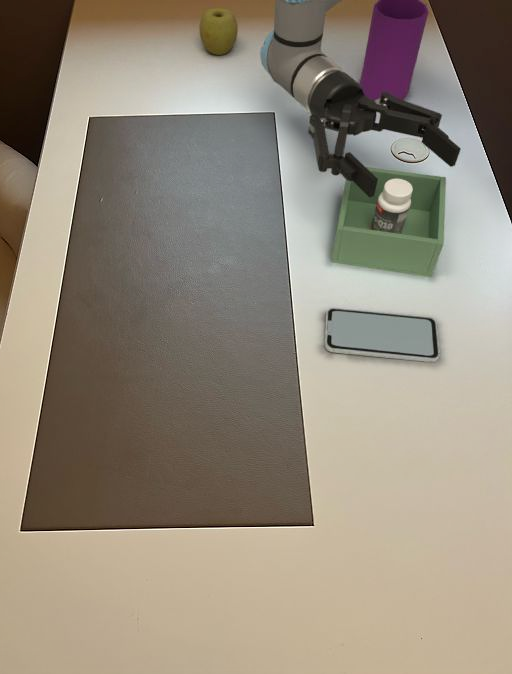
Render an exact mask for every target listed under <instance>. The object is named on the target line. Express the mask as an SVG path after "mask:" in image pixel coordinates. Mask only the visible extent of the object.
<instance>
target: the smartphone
mask: <svg viewBox="0 0 512 674" xmlns="http://www.w3.org/2000/svg"><path fill="white" fill-rule="evenodd" d="M324 330H325V332H324V348H325V349H326V350H327V351H328V352H330V353H337V354H344V355H345V354H346V355H355V356H366V357H376V358H387V359H397V360H405V361H406V360H407V361H416V362H426V363H435V362H437V361H438V359H439V358H440V355H441V351H440V342H439V341H440V340H439V332H438V323H437V320H436V319H435V318H434V317H431V316H426V315H413V314H404V313H394V312H384V311H373V310H362V309H352V308H341V307H330V308H328V309H327V310H326V313H325V329H324Z"/></svg>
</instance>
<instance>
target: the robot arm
mask: <svg viewBox="0 0 512 674" xmlns="http://www.w3.org/2000/svg"><path fill="white" fill-rule="evenodd" d="M341 1H342V0H274V16H273V17H274V19H273V20H274V21H273V29H272V30H271V31H270V32H269V33H268V34H267V35H266V37H265V39H264V43H263V45H262V46H261V48H260V62H261V65H262V67H263V69H264V70H265V71H266V72H267V74H268V75H269V76H270V77H271V80H273V82H275V83H276V84H277V85H279V86H280V87H281V88H283V90H284V91H286V92H287V93H288V94H289V95H290V96H291V97H292V98H293V99H294V100H295V101H296V102H297V103H298V104H299V105H301V107H303V109H305V111H306V112H308V113H309V114H310V115H309V121H308V129H307V133H308V134H309V136H310V137H311V139H312V140H313V147H314V152H315V156H316V157H315V159H316V164H317V169H318V171H319V172H320V173H326V172H327V171H328V170H329V169H331V171H330V173H331V175H333V176H339V175H341V176H342V177H343V178H344V179H345V181H346V180H348V181H353V182H354V183H355V184H356V185H357V186H358V187H359V188H360V189H361V190H362V191H363V192H364V193H365V194H366V195H367V196H368V197H369V198H370V197H373V196H374V194H375V190H376V186H377V181H378V178H376V177H375V176H374V175H373V174H372V173H371V172H370V171H369V170H368V169H367V168H366V167H367V166H365V165H364V164H363V163H362V162H361V161H360V160H359V159H358V158H357V157H356V156H355V155H354V154H353V153H352V152H350V151H348V152H345V147H346V142H347V137H348V136H353V137H355V136H359V135H360V134H362V133H366V132H370V131H375V132H383V131H384V130H385V131H389V132H393V133H399V134H404V135H407V136H412V137H417V138H421V144H423V145H425V147H427V148H428V149H429V150H430V151H431V152H432V153H433V154H434V155H436V156H437V157H438V158H439V159H441V160H442V161H443V162H444V163H445V164H446V165H448V166H449V167H450V168H452V167H455V166H456V164H457V161H458V158H459V154H460V153H461V150H462V147H460V146H459V145H458V144H456V143H455V142H454V141H452V139H450V137H449V135H448V134H447V133H446V132H445V131H443V130H442V129H441V128H440V124H441V120H442V117H443V115H442V114H441V113H440V112H437V111H436V110H435V111H434V110H433V109H432V110H431V109H429V108H427V107H423V106H421V105H418V104H415V103H412V102H409V101H406V100H404V99H403V100H401V99H398V98H396V97H394V96H393V95H391V94H390V93H388V92H382V93H381V97H380V98H379V99H377V100H375V101H374V100H372V99H369V98H367V97H366V96H365V95H364V93H363V90H362V88H361V86H360V83H358V82H357V81H356V80H355V79H354V78H353V77H352V76H351V75H350V74H348V73H347V72H345V71H344V69H343V68H342V67H340V66H339V65H338V64H336V62H334V61H333V60H331V58H329V57H328V56H327V55H325V53H323V52H322V42H323V37H324V29H325V22H326V20H325V19H326V14H327V12H328V11H330V10H331V9H332V8H333V7H335V6H336V5H337V4H338V3H339V4H340V2H341ZM377 113H379V120H378V122H376V120H377ZM326 130H329V131H334V132H337V138H336V142H335V146H334V152H333V153H330V150H329V145H328V139H327V134H326ZM344 152H345V153H344Z"/></svg>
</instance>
